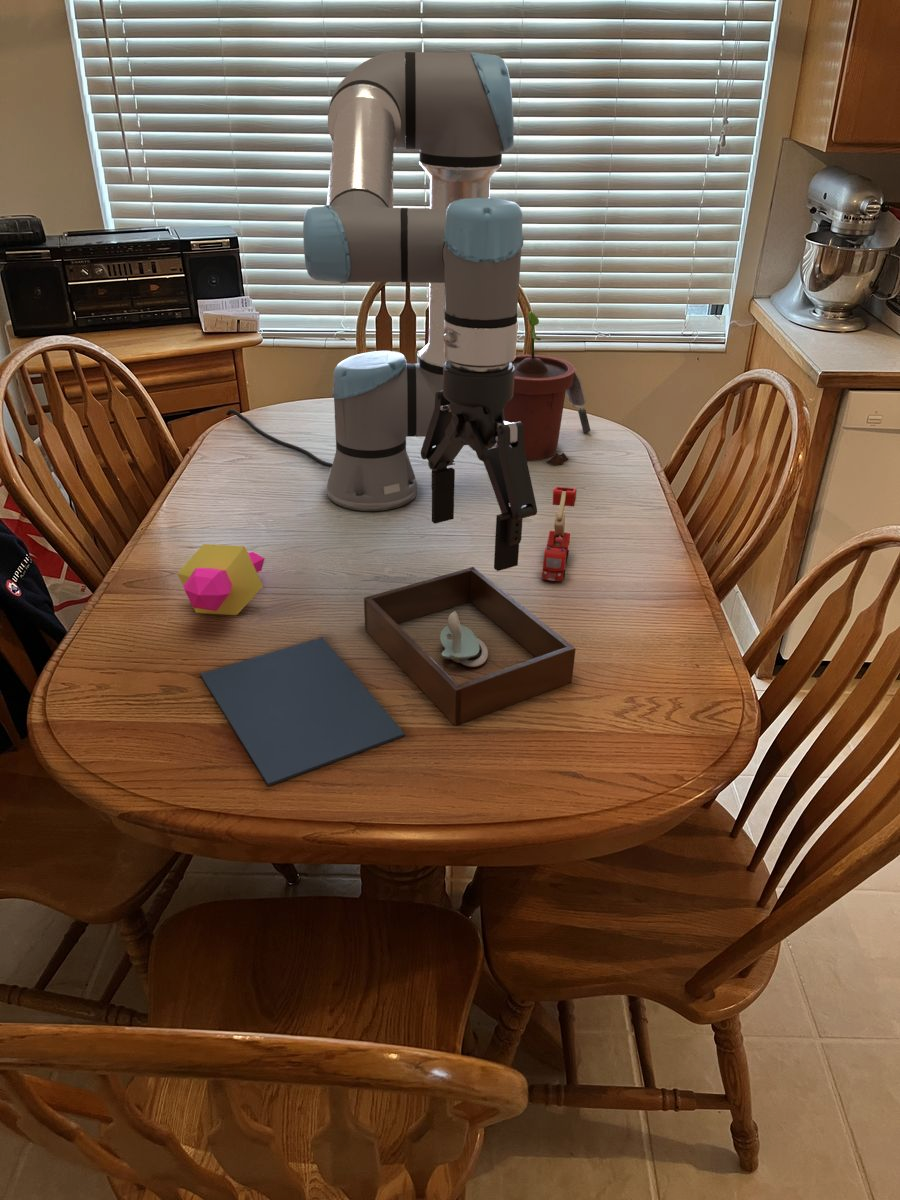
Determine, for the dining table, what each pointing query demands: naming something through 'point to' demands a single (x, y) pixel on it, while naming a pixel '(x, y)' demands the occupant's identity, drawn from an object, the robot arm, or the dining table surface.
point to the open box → (507, 613)
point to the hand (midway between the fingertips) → (472, 542)
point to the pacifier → (462, 643)
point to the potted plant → (543, 400)
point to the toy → (221, 578)
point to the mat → (299, 709)
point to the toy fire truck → (558, 547)
